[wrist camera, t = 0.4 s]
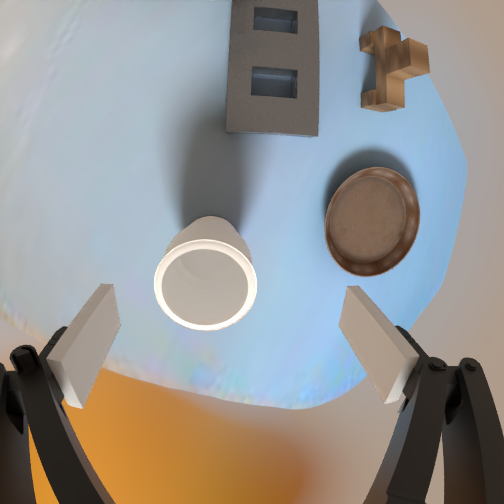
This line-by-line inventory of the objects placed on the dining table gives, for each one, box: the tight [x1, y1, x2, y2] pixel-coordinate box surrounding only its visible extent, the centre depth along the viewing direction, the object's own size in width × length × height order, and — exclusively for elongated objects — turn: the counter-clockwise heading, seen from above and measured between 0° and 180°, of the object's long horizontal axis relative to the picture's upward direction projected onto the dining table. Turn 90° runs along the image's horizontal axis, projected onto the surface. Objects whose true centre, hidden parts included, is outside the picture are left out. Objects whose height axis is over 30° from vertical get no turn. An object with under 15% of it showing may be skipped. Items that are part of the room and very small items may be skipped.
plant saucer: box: [325, 167, 420, 277], centre depth 42 cm, size 18×18×3 cm
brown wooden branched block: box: [359, 26, 430, 112], centre depth 29 cm, size 12×4×13 cm, turn 178°
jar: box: [154, 216, 257, 331], centre depth 35 cm, size 11×10×15 cm
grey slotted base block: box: [226, 0, 319, 137], centre depth 32 cm, size 24×12×4 cm, turn 178°
